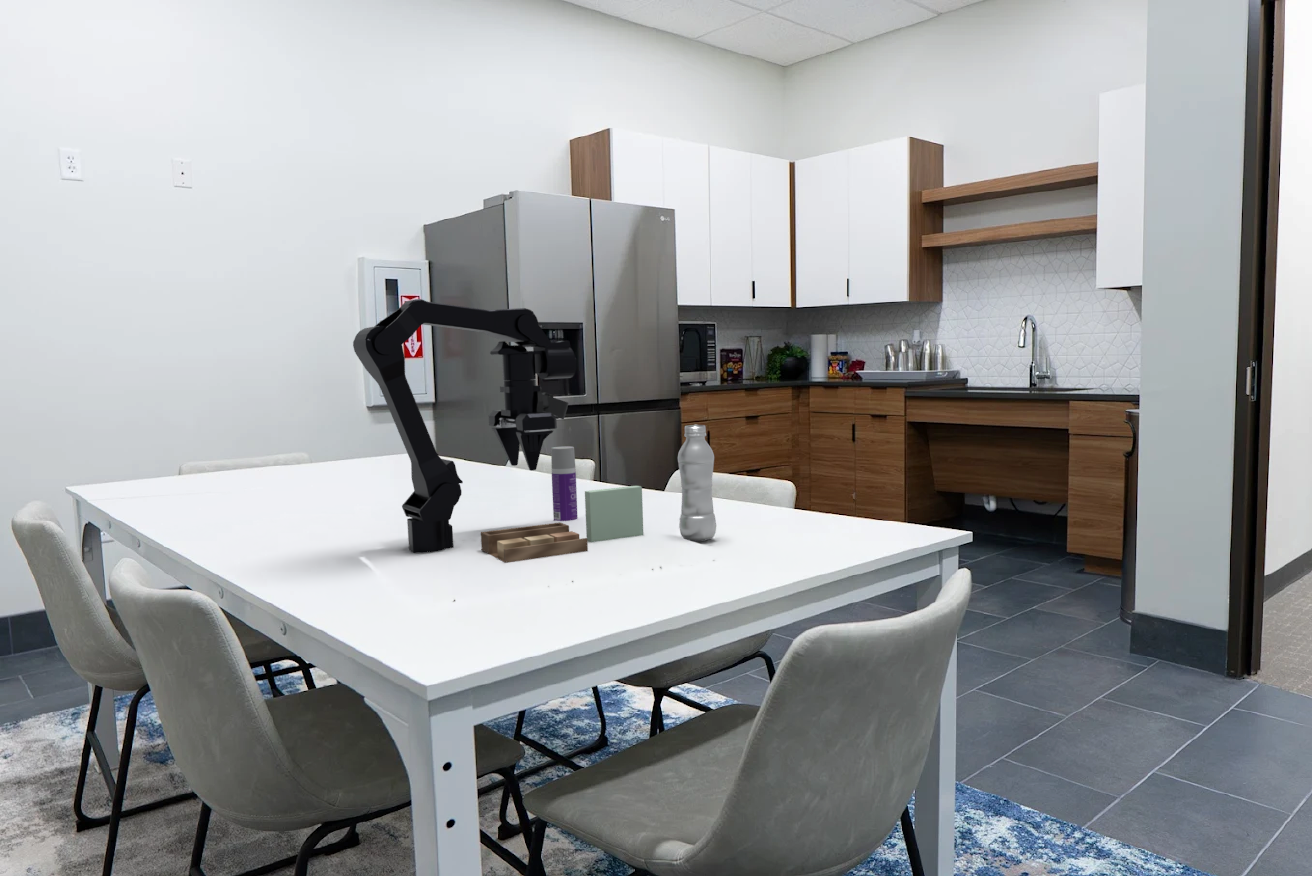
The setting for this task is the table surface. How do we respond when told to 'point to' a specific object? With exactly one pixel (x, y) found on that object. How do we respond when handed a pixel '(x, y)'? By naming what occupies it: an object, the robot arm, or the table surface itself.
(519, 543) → the offcut
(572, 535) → the offcut
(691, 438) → the plastic bottle
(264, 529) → the table surface
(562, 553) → the rack
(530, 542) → the offcut
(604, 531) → the green rectangular block
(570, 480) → the container
